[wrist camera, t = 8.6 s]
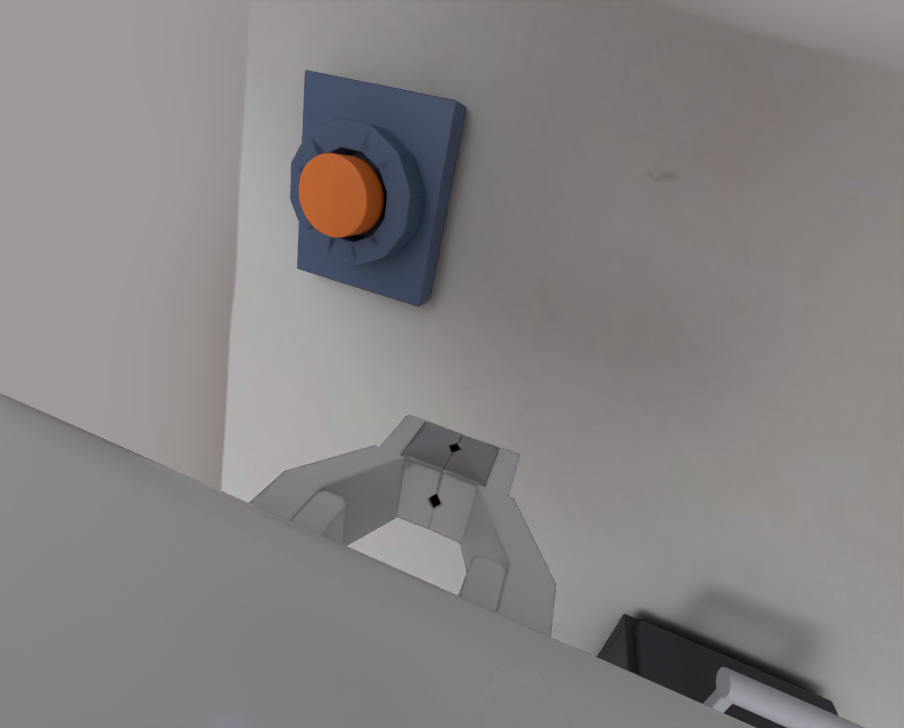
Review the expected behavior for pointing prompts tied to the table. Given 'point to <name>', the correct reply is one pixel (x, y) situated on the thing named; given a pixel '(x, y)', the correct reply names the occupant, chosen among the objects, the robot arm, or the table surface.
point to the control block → (401, 175)
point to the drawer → (729, 684)
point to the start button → (340, 195)
